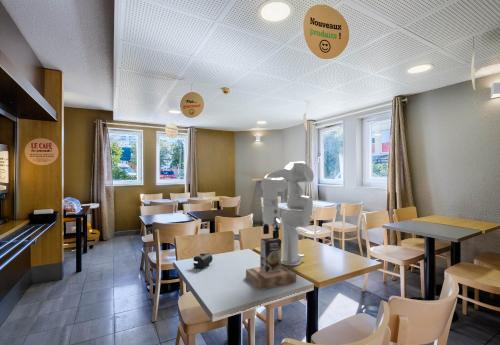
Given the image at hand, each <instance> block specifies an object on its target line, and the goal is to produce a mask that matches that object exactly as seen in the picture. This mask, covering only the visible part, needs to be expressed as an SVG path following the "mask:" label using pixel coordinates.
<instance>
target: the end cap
mask: <svg viewBox="0 0 500 345" xmlns="http://www.w3.org/2000/svg"><path fill="white" fill-rule="evenodd" d="M196 262H197V263H196ZM212 262H213V255H212V253H210V252H207V253H200V254H199V255H196V256H194V257H193V269H194V270H195V269H196V270H202V269H203V268H206V267H207V266H208V265H209V264H211V263H212Z"/></svg>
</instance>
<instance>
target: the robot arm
mask: <svg viewBox="0 0 500 345" xmlns="http://www.w3.org/2000/svg"><path fill="white" fill-rule="evenodd" d="M314 177H315V174H314V171H313V169H312V168H311V166H310V165H309V164H308V163H307V162H305V161H289V162H288V163H286V164H285V165H284V166H283V167H282V168H281V169H278V170H275V171H271V172H269V173H268V174H266V175H265V176H263V177H262V179H261V181H260V188H261V190H262V205H263V207H262V216H261V221H262V230H263V231H262V233H263V235H269V234H270V227H272V229H273V230H272V238H273V239H276V238H278V239H280V228H281V229H282V257H281V265H285V266H288V267H289V266H294V267H295V266H299V265H301V263H302V260H301V259H305V257H306V256H305V254H300V253H299V232H298V230H297V228H308V227H309V225H310V224H311V218H312V213H313V206H314V203H313V198H312V197H310V196H309V195H303V194H304V189H303V187H302V186H301V185H300V184H299V183H312V182H313V181H314ZM288 186H289V194H288V197H287V202H286V207H287V209H288V210H287V209H286V210H284V211H282V212H281V215H280V207H279V200H278V198H279V195H278V193H282V192H284V191H286V189H287V188H288ZM281 226H282V227H281ZM296 227H297V228H296Z"/></svg>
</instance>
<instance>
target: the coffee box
mask: <svg viewBox="0 0 500 345" xmlns="http://www.w3.org/2000/svg"><path fill="white" fill-rule="evenodd" d="M281 259H282V239H280V238H276V239H273V237H267V238H260V261H259V263H260V264H259V265H260V266H259V267H260V270H261V271H262V272H264V273H265V274H270V273H276V272H281V265H282V263H281Z"/></svg>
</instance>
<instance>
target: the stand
mask: <svg viewBox="0 0 500 345" xmlns="http://www.w3.org/2000/svg"><path fill="white" fill-rule="evenodd" d="M245 278H246V279H247V280H249V281H250V283H252V284H253V285H254V286H255V287H256V288H258V289H259V290H260V291H261V290H262V291H263V290H265V289H270V288H274V287H279V286H284V285H289V284H293V283H297V274H296V273H295V272H294V271H292V270H290V269H288V268H287V267H286V266H283V264H281V272H276V273H270V274H265V273H264V272H262V271H261V270H260V266H258V267H253V268H247V269H245Z"/></svg>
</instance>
